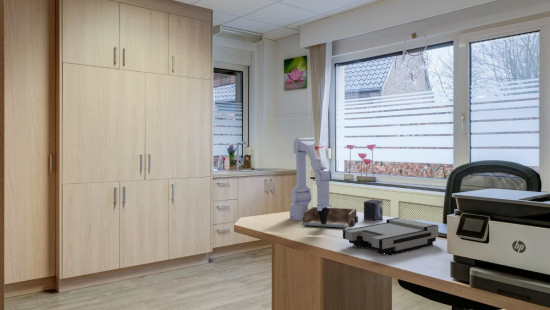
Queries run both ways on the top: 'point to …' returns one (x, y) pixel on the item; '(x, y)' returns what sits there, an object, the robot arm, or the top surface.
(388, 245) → the game console
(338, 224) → the tailgate
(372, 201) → the small box
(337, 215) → the cart bed
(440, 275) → the top surface
